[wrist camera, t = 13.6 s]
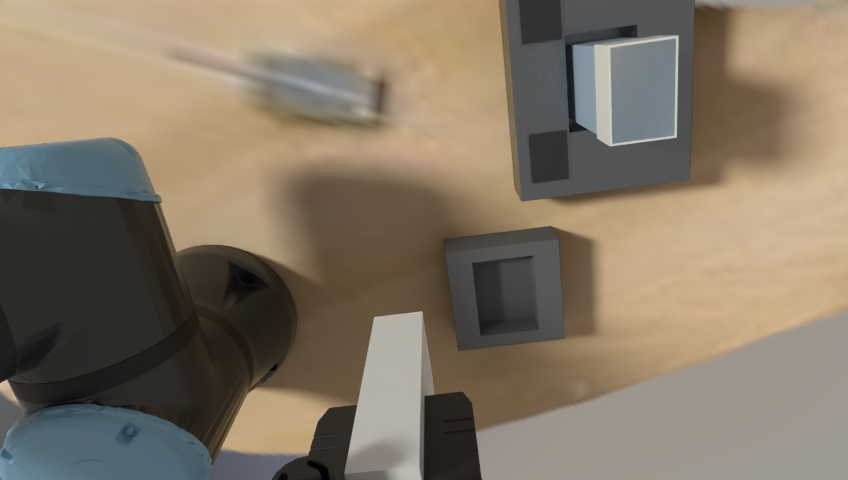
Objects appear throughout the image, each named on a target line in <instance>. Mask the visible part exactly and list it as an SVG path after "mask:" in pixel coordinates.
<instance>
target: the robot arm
mask: <svg viewBox="0 0 848 480" xmlns="http://www.w3.org/2000/svg"><path fill="white" fill-rule="evenodd" d="M161 202H162V200H161V197H160V196H159V195H158V194H156V193H155V191H154V188H153V186H152V183H151V181H150V178H149V176H148V173H147V171H146V168H145V166H144V163H143V161H142V158H141V156H140V155H139V153H138V152H137V150H136V149H135V148H134V147H132V146H131V145H130V144H128V143H127V142H124V141H122V140H119V139H115V138H95V139H84V140H74V141H63V142H53V143H43V144H34V145H24V146H13V147H3V148H0V383H1V382H3V381H5V380H8V382H9V384H10V386H11V388H12V390H13V392H14V394H15V396H16V398H17V400H18V402H19V404H20V406H21V408H22V410H23V412H24V418H21V419H19V420H18V421H17V422H16V423H15V424H14V425H13V426H12V427H11V428H10V429H9V431H8V433H7V436H6V439H5V441H4V446H3V448H2V449H1V451H0V476H1V479H2V480H207V479H208V478H209V475H210V473H211V470H212V468H211V467H212V466H213V463H214V461H215V459H216V457H217V455H218V453H219V451H220V449H221V447H222V445H223V443H224V441H225V439H226V436H227V434H228V432H229V430H230V428H231V426H232V424H233V422H234V420H235V418H236V416H237V414H238V412H239V410H240V408H241V406H242V404H243V402H244V400H245V398H246V396H247V394H248V393H249V392H251V391H252V390H253V389H255V388H256V387H257V386H259V385H260V384H261V383H263V382H264V381H266V380H267V379H268V378H269V377H271V376H272V375H273V374H274V373H275V372H276V371H277V370H278V368H279V367H280V366H281V365H282V363H283V362H284V360H285V358H286V356H287V354H288V352H289V350H290V348H291V346H292V343H293V341H294V337H295V333H296V327H297V317H296V310H295V305H294V302H293V299H292V297H291V294H290V292H289V290H288V289H287V287H286V285H285V284H284V282H283V281H282V280H281V278H280V277H279V276H278V275H277V274H276V273H275V272H274V271H273V270H272V269H271V268H270V267H269V266H268V265H266V264H265V263H264V262H262V261H261V260H259V259H258V258H256V257H254V256H253V255H250V254H248V253H246V252H244V251H241V250H238V249H235V248H231V247H226V246H220V245H201V246H195V247H190V248H187V249H184V250H181V251H179V252H176V249H175V247H174V244H173V241H172V238H171V235H170V232H169V229H168V226H167V223H166V220H165V217H164V214H163V211H162V208H161V205H160V203H161ZM272 480H482V479H481V472H480V463H479V455H478V447H477V439H476V431H475V424H474V416H473V408H472V403H471V402H470V400H469V399H468V398H467V397H466V395H465V394H464V393H463V392H455V393H446V394H437V395H434V383H433V376H432V370H431V363H430V357H429V351H428V344H427V338H426V331H425V325H424V318H423V312H422V311H421V312H412V313H404V314H396V315H388V316H379V317H374V321H373V326H372V332H371V337H370V342H369V347H368V353H367V358H366V363H365V368H364V373H363V379H362V384H361V389H360V394H359V400H358V405H351V406H342V407H333V408H329V409H328V410H327V411H326V413H325V414H324V415H323V416H322V417H321V419H320V420H319V421H318V424H317V427H316V431H315V434H314V439H313V441H312V445H311V451H310V452H309V455H308V456H305V457H301V458H297V459H295V460H293V461H291V462H289V463H288V464H286V465H285V466H283V467H282V468H281V469H280V470H279V471H278V472H276V474H275V476H274V477H273V479H272Z"/></svg>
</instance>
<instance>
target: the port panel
mask: <svg viewBox="0 0 848 480" xmlns="http://www.w3.org/2000/svg"><path fill="white" fill-rule="evenodd" d="M499 7H500V19H501V31H502V43H503V55H504V66H505V78H506V90H507V102H508V114H509V126H510V138H511V150H512V161H513V173H514V185H515V190H516V192H517V194H518V196H519V198H520V199H521V201H529V200H537V199H545V198H552V197H560V196H568V195H576V194H583V193H591V192H599V191H607V190H614V189H622V188H630V187H638V186H645V185H653V184H661V183H669V182H677V181H684V180H690V161H691V123H692V85H693V48H694V10H695V0H499ZM658 35H679V39H678V96H677V138H670V139H662V140H655V141H647V142H640V143H632V144H625V145H617V146H609V145H607V144H605V143H604V142H602V141H600V140H599V139H597V134H595V133H593V132H591V131H590V130H588V129H586V128H585V127H583V126H581V125H580V124H578V123H576V122H575V121H573V120H571V119H570V118H569V105H568V85H567V64H566V44H573V43H580V42H587V41H594V40H601V39H608V38H645V37H652V36H658Z"/></svg>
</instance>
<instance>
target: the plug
mask: <svg viewBox="0 0 848 480" xmlns="http://www.w3.org/2000/svg"><path fill="white" fill-rule="evenodd" d="M678 39H679V35H658V36H652V37H645V38H608V39H601V40H594V41H587V42H580V43H573V44H566V64H567V85H568V105H569V118H570V119H571V120H573V121H575V122H576V123H578V124H580V125H581V126H583V127H585V128H586V129H588V130H590V131H591V132H593V133H595V134H597V139H599V140H600V141H602V142H604V143H605V144H607V145H609V146H617V145H625V144H632V143H640V142H647V141H655V140H662V139H670V138H677V96H678Z"/></svg>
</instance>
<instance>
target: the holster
mask: <svg viewBox="0 0 848 480" xmlns="http://www.w3.org/2000/svg"><path fill="white" fill-rule="evenodd" d="M444 244H445V256H446V263H447V271H448V278H449V286H450V293H451V301H452V308H453V316H454V323H455V331H456V338H457V346H458V351H460V350H468V349H477V348H486V347H495V346H503V345H512V344H521V343H529V342H538V341H547V340H556V339H564V324H563V307H562V289H561V272H560V255H559V239H558V237H557V236H556V234H555V233H554V231H553V229H552V228H551V226H548V227H540V228H532V229H524V230H516V231H508V232H500V233H492V234H484V235H477V236H469V237H461V238H453V239H445V240H444Z"/></svg>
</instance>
